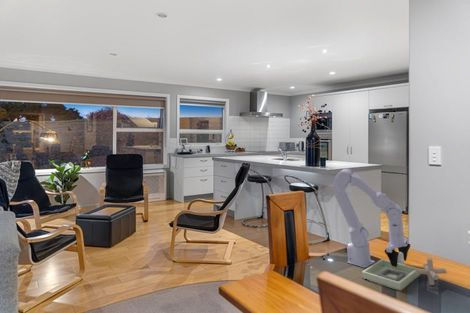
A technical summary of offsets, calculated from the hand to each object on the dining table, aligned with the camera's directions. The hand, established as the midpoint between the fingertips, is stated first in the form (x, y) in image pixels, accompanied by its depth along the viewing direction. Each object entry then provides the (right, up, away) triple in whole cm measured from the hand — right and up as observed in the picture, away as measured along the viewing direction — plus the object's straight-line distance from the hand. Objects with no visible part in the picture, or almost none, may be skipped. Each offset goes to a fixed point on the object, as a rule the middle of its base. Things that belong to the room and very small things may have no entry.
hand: (399, 263), depth 141 cm
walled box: (-7, -3, -8) cm, 11 cm away
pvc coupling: (0, -2, 0) cm, 2 cm away
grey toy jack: (+4, -3, -17) cm, 17 cm away
